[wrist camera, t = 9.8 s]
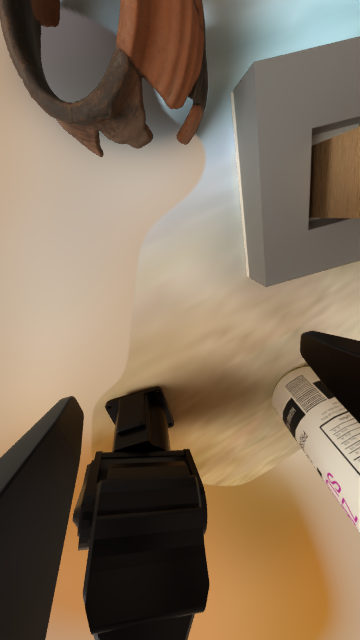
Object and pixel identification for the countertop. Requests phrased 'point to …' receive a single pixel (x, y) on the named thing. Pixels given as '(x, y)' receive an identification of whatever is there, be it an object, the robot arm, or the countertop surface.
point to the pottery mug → (119, 68)
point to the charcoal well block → (293, 158)
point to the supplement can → (323, 434)
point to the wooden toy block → (336, 177)
